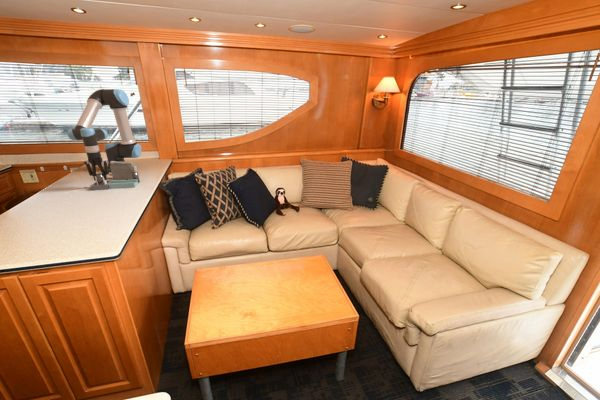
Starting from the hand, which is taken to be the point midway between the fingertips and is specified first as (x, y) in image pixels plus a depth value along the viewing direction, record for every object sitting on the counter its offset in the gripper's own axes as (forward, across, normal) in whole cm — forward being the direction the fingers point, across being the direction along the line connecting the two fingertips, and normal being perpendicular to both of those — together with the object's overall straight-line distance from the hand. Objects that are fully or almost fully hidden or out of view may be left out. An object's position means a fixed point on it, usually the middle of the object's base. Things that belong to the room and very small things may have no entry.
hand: (102, 184), depth 192 cm
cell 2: (+2, +20, +8) cm, 21 cm away
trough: (+2, +14, 0) cm, 14 cm away
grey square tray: (+2, 0, 0) cm, 2 cm away
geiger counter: (+3, +6, +19) cm, 20 cm away
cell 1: (0, 0, 0) cm, 0 cm away
